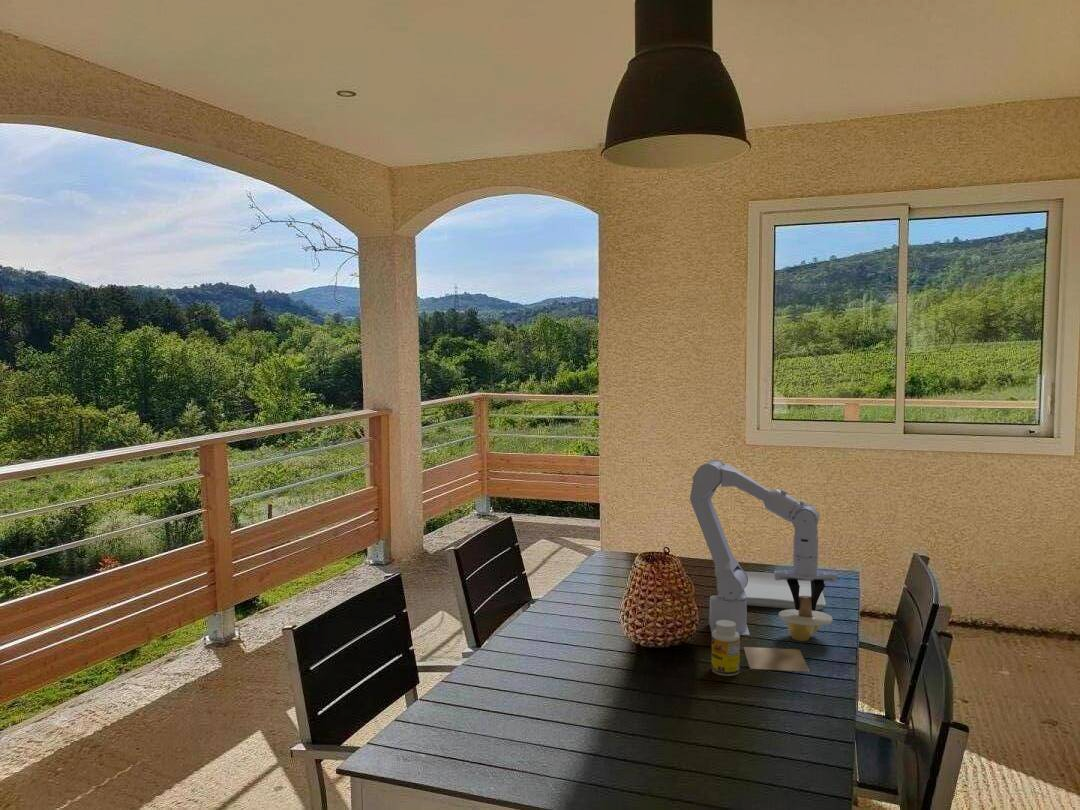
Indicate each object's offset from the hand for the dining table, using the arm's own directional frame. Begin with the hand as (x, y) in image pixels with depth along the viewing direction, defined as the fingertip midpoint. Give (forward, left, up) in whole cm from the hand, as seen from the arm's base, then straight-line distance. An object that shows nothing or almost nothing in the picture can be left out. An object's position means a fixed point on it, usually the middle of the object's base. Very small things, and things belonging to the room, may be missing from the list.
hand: (804, 609), depth 190 cm
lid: (0, -1, -2) cm, 2 cm away
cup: (-1, +1, -8) cm, 9 cm away
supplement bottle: (-21, -22, -8) cm, 32 cm away
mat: (-9, -14, -8) cm, 18 cm away
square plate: (-2, +36, -9) cm, 37 cm away
